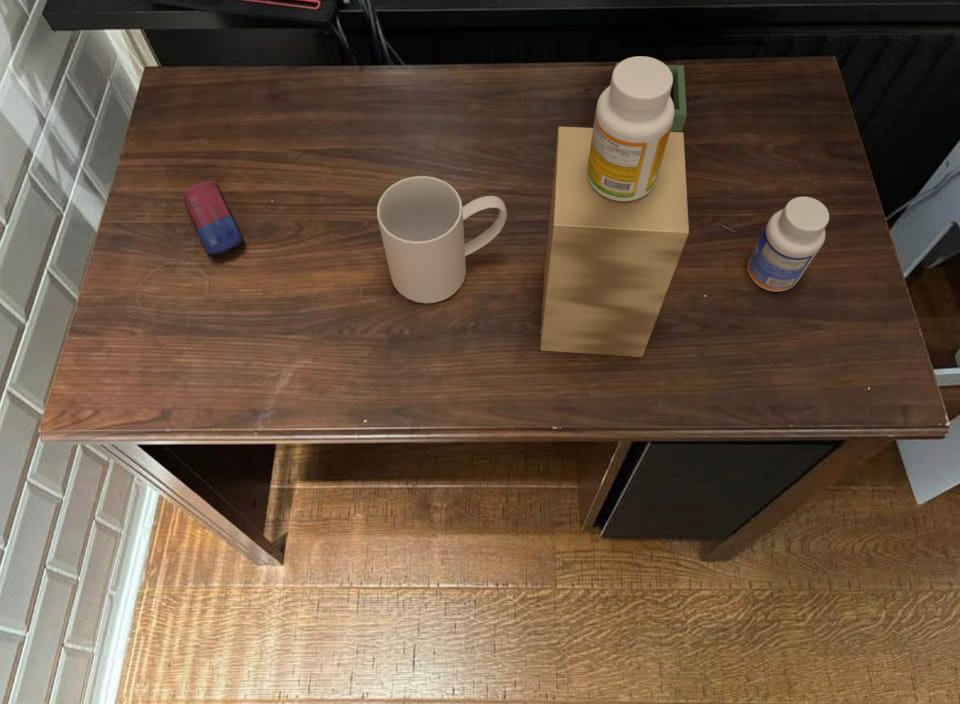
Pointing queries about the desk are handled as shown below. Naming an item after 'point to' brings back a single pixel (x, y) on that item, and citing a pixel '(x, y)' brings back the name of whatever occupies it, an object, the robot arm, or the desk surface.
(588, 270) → the block
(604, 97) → the supplement bottle
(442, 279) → the mug
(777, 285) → the pill bottle
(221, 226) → the eraser
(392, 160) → the desk surface
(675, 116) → the bottle holder
